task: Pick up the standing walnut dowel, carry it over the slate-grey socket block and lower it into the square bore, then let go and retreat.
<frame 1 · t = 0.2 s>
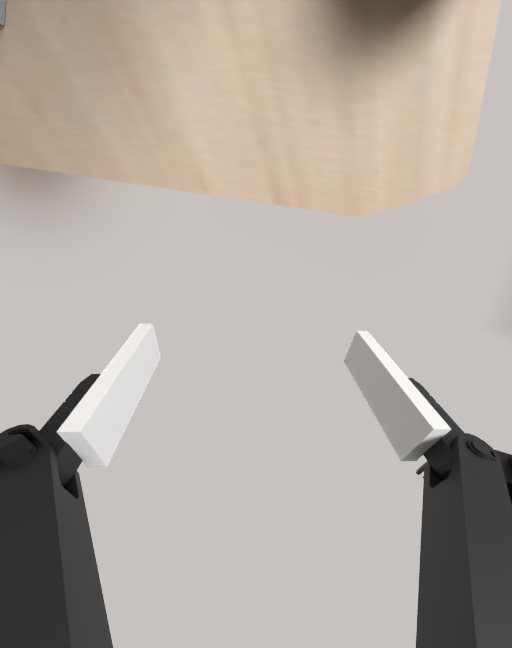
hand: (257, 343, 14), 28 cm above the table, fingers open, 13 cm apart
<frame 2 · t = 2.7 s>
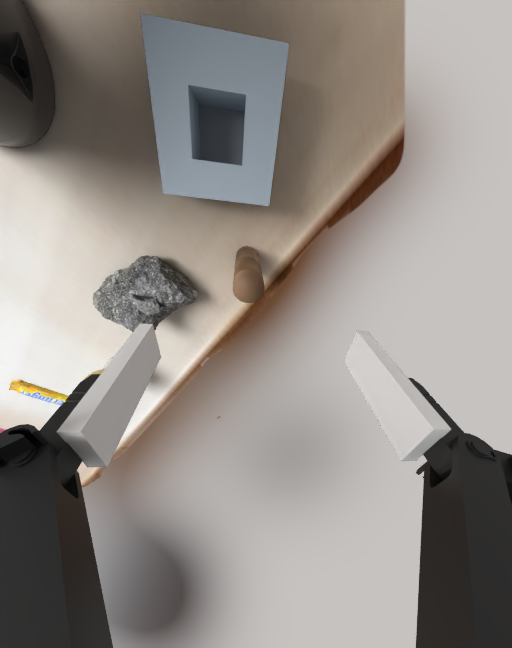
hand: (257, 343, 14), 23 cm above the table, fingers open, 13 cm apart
candy bar: (58, 393, 50), on the table
peg: (247, 257, 33), on the table
rock: (153, 287, 35), on the table
socket: (222, 140, 25), on the table
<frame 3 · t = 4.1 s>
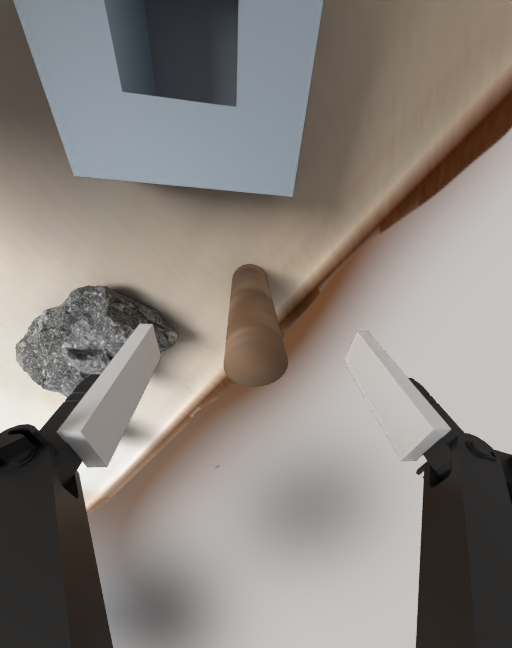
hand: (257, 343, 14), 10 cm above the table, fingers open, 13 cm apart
peg: (249, 281, 21), on the table
rock: (113, 326, 24), on the table
socket: (198, 72, 13), on the table
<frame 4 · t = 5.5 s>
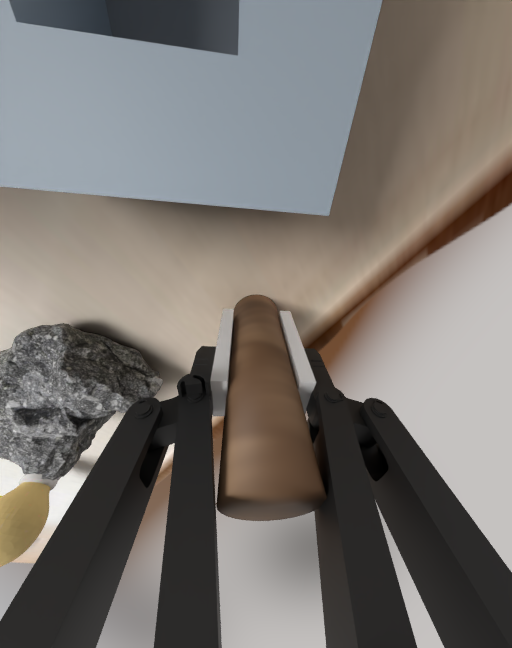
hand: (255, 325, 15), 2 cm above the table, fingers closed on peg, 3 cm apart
light bulb: (56, 456, 28), on the table
peg: (255, 314, 17), on the table, touching gripper
rock: (85, 366, 19), on the table
socket: (181, 26, 9), on the table
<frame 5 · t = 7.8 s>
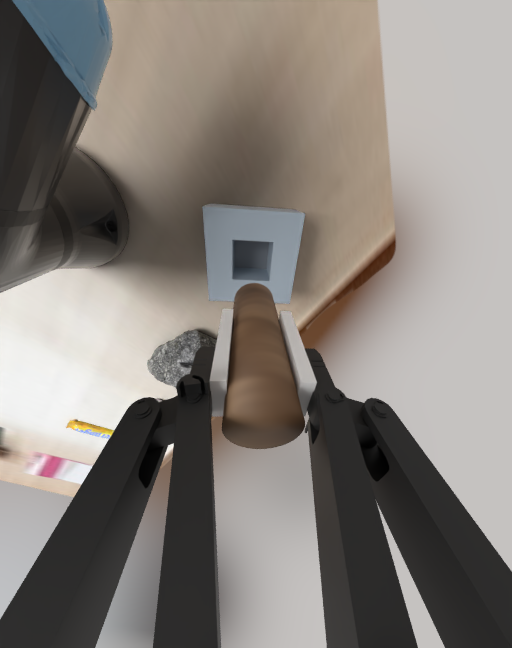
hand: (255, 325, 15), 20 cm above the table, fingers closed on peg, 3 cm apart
candy bar: (104, 428, 58), on the table
peg: (253, 301, 19), point 16 cm above the table, touching gripper
rock: (192, 348, 43), on the table
socket: (251, 250, 32), on the table
when the fingers open (7 cm above the table, at t = 10.1 s): peg drops 2 cm, resting on socket.
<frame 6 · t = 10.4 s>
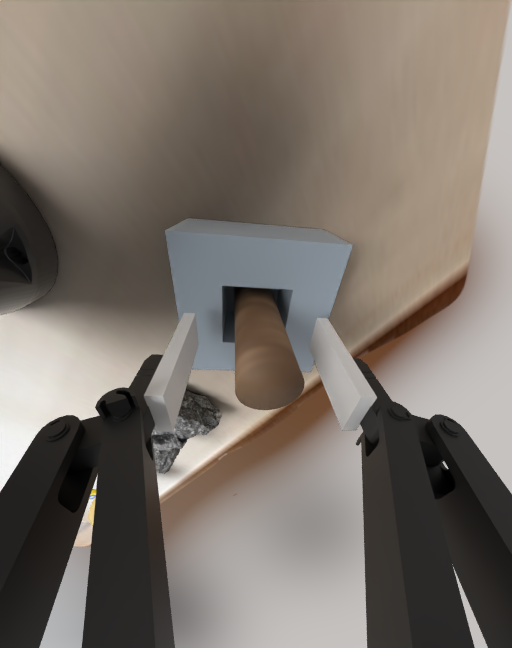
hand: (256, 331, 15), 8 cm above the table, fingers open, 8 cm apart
peg: (252, 291, 20), point 1 cm above the table, touching socket
rock: (172, 405, 32), on the table
socket: (252, 287, 21), on the table
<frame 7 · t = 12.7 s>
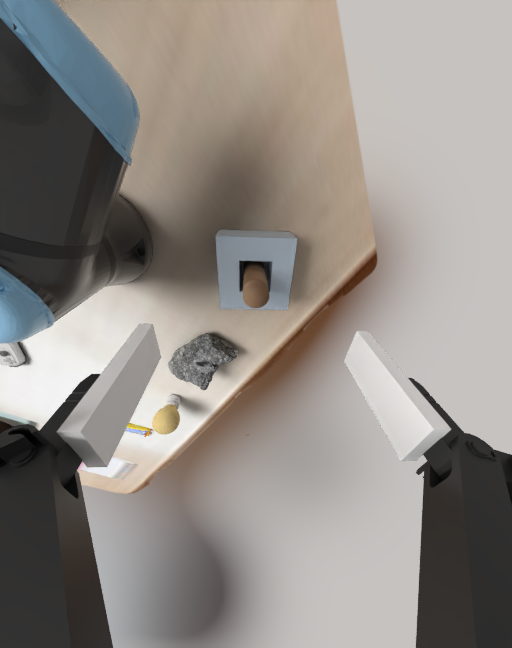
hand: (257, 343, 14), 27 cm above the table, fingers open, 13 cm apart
light bulb: (174, 396, 58), on the table
candy bar: (125, 422, 65), on the table
peg: (253, 267, 37), point 1 cm above the table, touching socket
rock: (205, 349, 49), on the table
socket: (254, 265, 38), on the table
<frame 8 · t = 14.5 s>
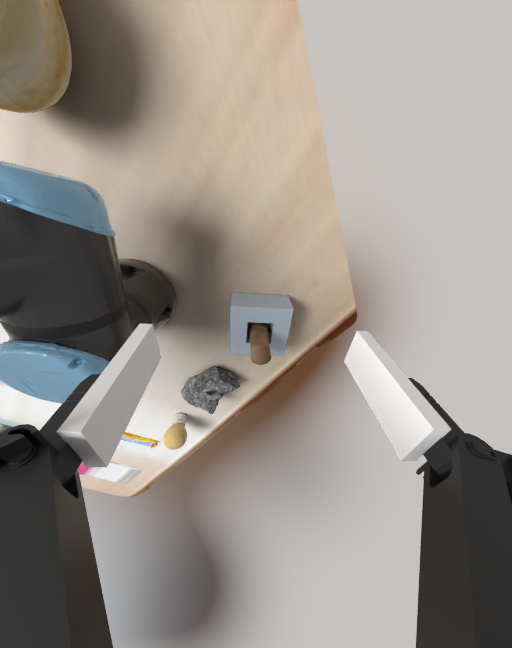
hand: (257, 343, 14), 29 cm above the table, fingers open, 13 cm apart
light bulb: (181, 414, 66), on the table
candy bar: (134, 435, 73), on the table
peg: (257, 319, 46), point 1 cm above the table, touching socket
rock: (212, 378, 57), on the table
decorative ball: (31, 40, 24), on the table
socket: (257, 317, 46), on the table
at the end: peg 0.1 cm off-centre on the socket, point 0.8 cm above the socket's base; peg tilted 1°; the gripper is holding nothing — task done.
